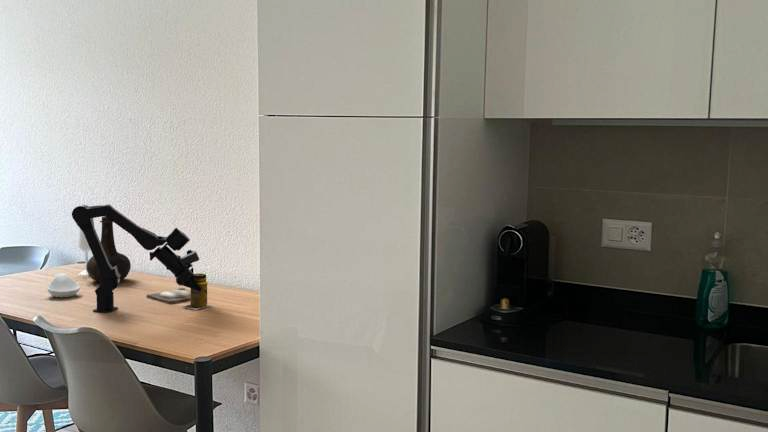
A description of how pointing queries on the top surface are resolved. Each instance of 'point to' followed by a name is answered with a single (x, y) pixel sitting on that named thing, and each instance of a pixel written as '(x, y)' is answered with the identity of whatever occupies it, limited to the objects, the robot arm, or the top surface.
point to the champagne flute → (84, 249)
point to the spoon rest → (63, 286)
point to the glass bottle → (109, 253)
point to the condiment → (199, 293)
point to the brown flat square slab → (172, 296)
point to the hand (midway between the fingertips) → (200, 288)
